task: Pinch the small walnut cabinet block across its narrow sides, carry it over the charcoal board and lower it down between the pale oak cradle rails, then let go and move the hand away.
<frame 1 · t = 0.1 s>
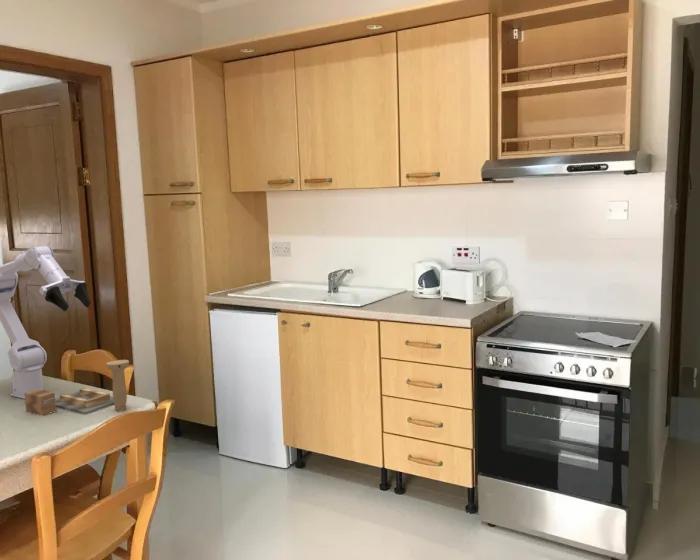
hand: (77, 306, 187), 32 cm above the table, tool tilted 50°, fingers open, 7 cm apart
cradle: (84, 402, 196), on the table
handle: (120, 410, 189), on the table
cabinet block: (41, 411, 188), on the table
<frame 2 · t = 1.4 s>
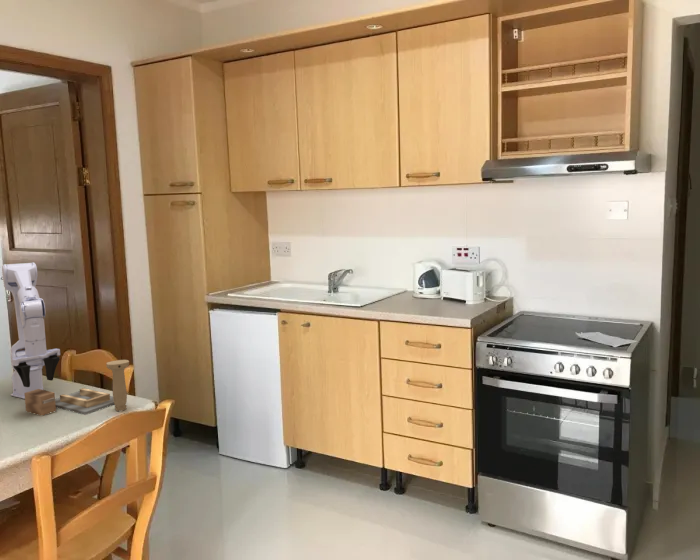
hand: (38, 383, 187), 9 cm above the table, tool pointing down, fingers open, 7 cm apart
nothing on the table moved.
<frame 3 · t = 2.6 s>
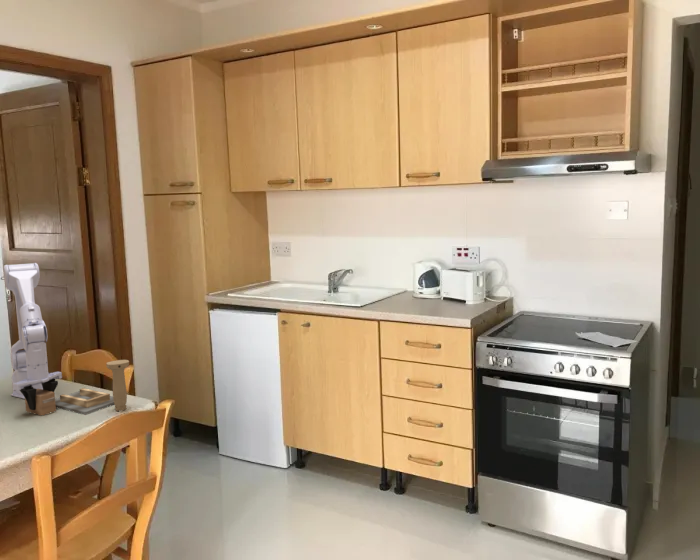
hand: (40, 406, 188), 1 cm above the table, tool pointing down, fingers closed on cabinet block, 5 cm apart
cabinet block: (40, 411, 188), on the table, touching gripper
everything else where it was.
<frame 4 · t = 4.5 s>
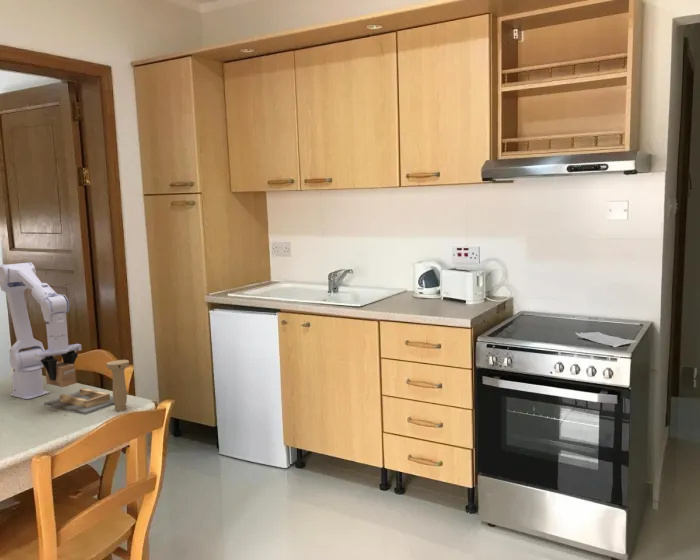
hand: (60, 377, 191), 9 cm above the table, tool pointing down, fingers closed on cabinet block, 5 cm apart
cabinet block: (61, 383, 191), point 8 cm above the table, touching gripper
everything else where it was.
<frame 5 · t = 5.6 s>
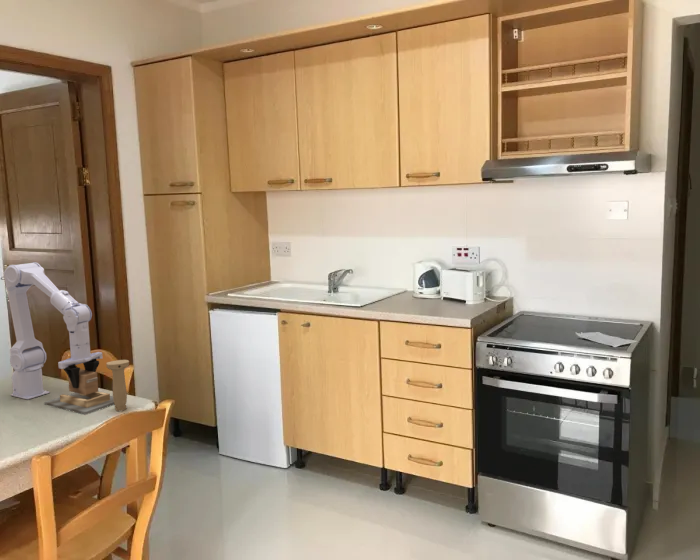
hand: (83, 385, 195), 6 cm above the table, tool pointing down, fingers closed on cabinet block, 5 cm apart
cabinet block: (83, 391, 195), point 4 cm above the table, touching gripper
everything else where it was.
when the fingers open (4 cm above the table, at t = 6.4 s): cabinet block drops 1 cm, resting on cradle.
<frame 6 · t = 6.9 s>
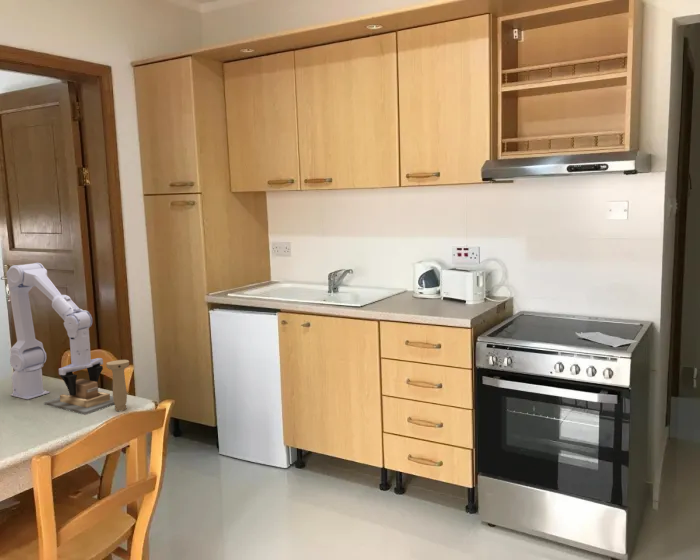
hand: (83, 391, 195), 4 cm above the table, tool pointing down, fingers open, 7 cm apart
cabinet block: (84, 400, 196), point 1 cm above the table, touching cradle
everything else where it was.
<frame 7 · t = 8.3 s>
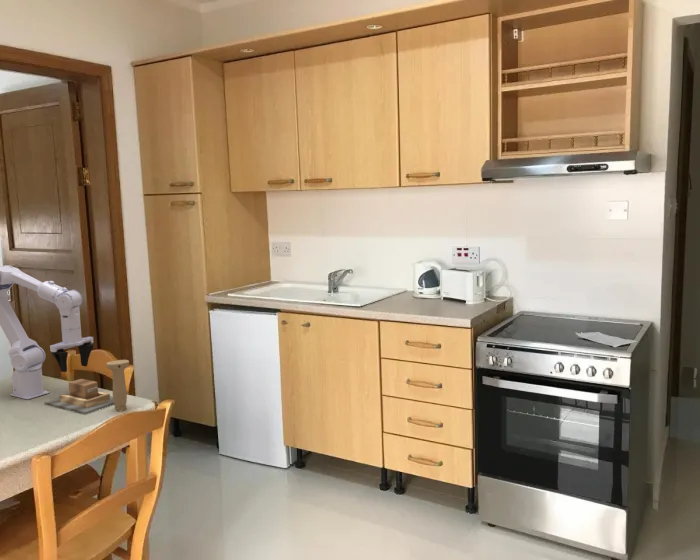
hand: (74, 368, 201), 9 cm above the table, tool pointing down, fingers open, 7 cm apart
nothing on the table moved.
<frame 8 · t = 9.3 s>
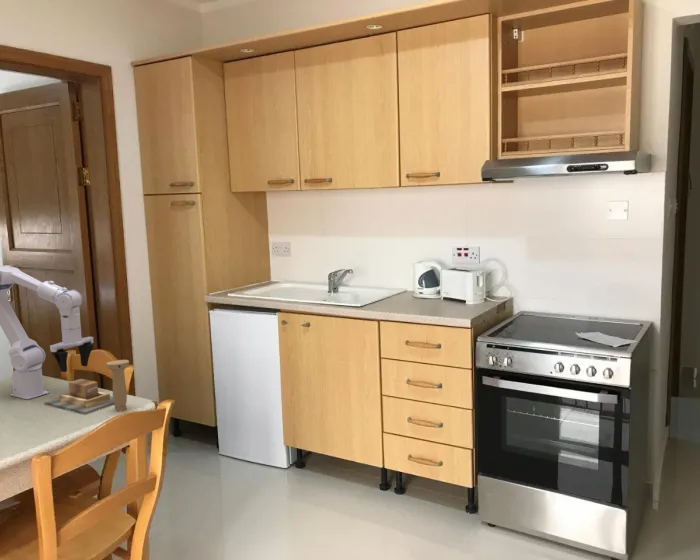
hand: (74, 368, 201), 9 cm above the table, tool pointing down, fingers open, 7 cm apart
nothing on the table moved.
at the end: cabinet block 0.7 cm off-centre on the cradle, point 0.8 cm above the cradle's base; cabinet block tilted 0°; the gripper is holding nothing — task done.
